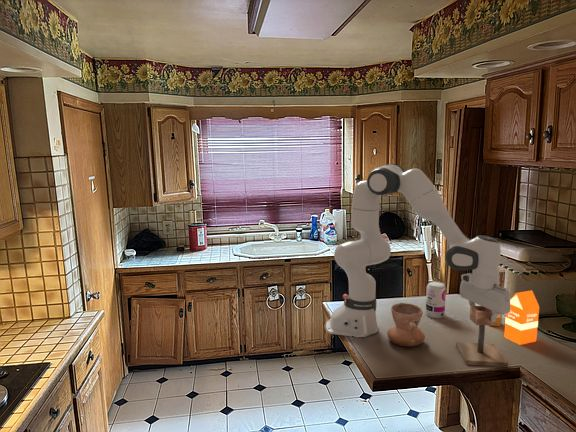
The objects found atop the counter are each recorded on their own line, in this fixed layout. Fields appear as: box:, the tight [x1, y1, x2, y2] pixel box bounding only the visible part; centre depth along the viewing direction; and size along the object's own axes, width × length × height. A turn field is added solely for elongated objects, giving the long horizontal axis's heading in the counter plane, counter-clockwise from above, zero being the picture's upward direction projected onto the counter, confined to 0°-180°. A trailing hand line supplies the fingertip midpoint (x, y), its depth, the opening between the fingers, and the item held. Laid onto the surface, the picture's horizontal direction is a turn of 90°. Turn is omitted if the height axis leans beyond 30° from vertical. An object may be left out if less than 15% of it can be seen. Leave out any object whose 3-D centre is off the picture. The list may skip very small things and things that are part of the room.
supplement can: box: [425, 281, 447, 319], centre depth 194 cm, size 8×8×15 cm
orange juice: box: [503, 289, 540, 346], centre depth 169 cm, size 8×9×20 cm
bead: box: [469, 305, 494, 326], centre depth 155 cm, size 6×6×5 cm
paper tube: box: [489, 266, 506, 327], centre depth 183 cm, size 7×7×25 cm
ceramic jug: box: [386, 302, 426, 348], centre depth 169 cm, size 18×14×14 cm
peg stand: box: [455, 325, 508, 367], centre depth 157 cm, size 14×14×12 cm
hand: (482, 316), depth 155 cm, fingers closed on bead, 7 cm apart
